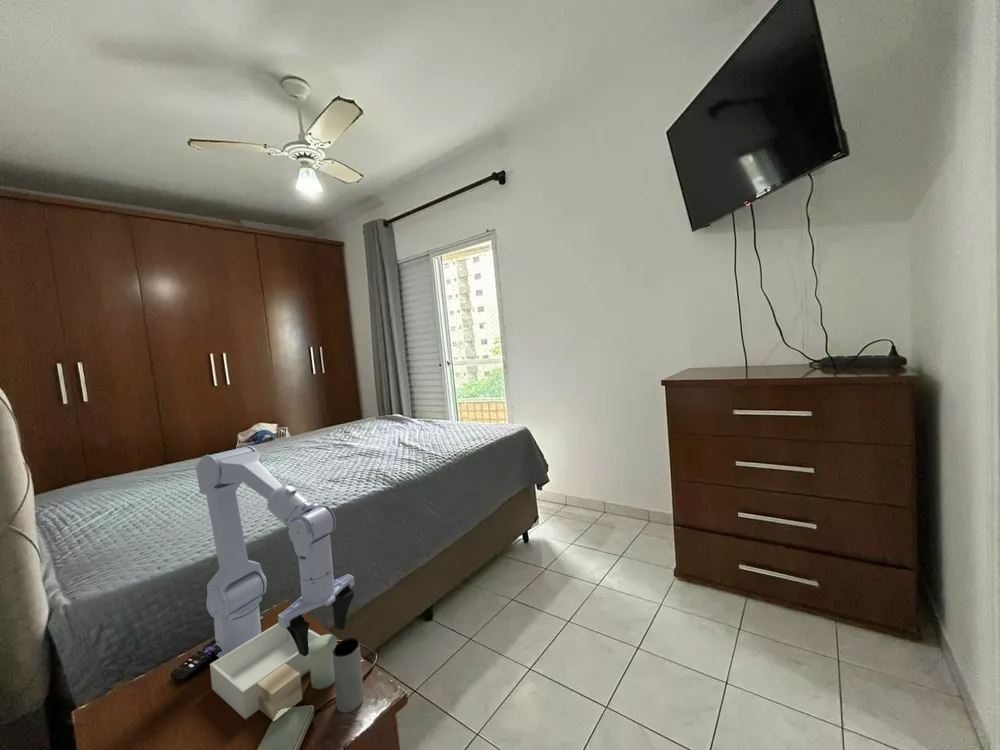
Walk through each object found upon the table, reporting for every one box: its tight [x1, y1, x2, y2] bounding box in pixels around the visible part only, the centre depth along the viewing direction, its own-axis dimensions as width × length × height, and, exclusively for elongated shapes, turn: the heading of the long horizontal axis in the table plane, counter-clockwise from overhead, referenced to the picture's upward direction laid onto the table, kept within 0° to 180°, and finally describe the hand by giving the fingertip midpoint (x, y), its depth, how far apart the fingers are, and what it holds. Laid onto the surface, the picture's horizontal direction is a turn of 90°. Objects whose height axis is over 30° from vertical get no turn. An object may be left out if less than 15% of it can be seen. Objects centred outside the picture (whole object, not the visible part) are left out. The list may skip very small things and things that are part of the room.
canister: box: [309, 633, 338, 690], centre depth 75 cm, size 5×5×7 cm
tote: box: [209, 622, 322, 720], centre depth 77 cm, size 13×15×5 cm
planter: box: [332, 637, 365, 714], centre depth 69 cm, size 4×4×10 cm
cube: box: [257, 663, 303, 721], centre depth 70 cm, size 5×5×5 cm
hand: (322, 640), depth 75 cm, fingers open, 7 cm apart
